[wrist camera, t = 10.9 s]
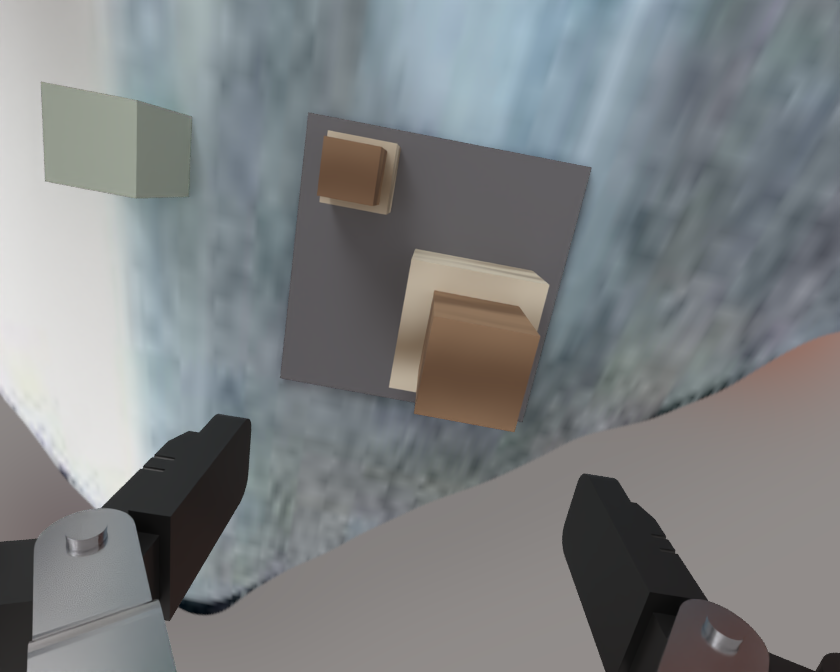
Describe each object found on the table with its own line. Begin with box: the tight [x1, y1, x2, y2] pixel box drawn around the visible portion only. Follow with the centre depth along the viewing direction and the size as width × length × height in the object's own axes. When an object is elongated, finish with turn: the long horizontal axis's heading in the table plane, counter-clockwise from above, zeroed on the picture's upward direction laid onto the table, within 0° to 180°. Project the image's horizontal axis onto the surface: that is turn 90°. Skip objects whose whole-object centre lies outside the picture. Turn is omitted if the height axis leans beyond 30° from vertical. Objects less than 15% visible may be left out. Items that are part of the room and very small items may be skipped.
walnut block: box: [414, 290, 540, 432], centre depth 26 cm, size 5×5×6 cm
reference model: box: [317, 130, 401, 215], centre depth 28 cm, size 4×4×6 cm
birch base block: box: [389, 249, 549, 392], centre depth 31 cm, size 8×8×5 cm
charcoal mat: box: [280, 113, 591, 422], centre depth 33 cm, size 18×18×1 cm
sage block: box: [41, 82, 192, 198], centre depth 29 cm, size 5×5×6 cm
